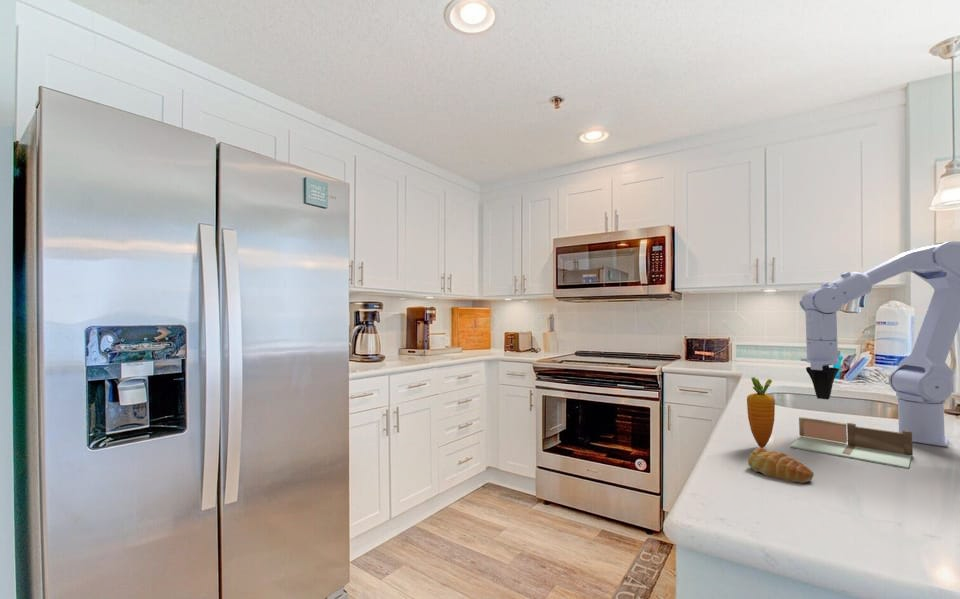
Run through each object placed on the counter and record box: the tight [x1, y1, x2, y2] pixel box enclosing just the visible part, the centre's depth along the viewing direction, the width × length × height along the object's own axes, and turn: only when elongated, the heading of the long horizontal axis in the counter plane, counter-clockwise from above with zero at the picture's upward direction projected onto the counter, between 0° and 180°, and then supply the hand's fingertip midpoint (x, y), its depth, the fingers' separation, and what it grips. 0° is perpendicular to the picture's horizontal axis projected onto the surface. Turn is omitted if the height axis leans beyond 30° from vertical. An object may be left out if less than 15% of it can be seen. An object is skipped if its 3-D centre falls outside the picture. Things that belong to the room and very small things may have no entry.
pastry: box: [747, 447, 815, 484], centre depth 77 cm, size 9×7×4 cm
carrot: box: [746, 376, 776, 449], centre depth 92 cm, size 5×5×15 cm
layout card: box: [789, 436, 913, 470], centre depth 91 cm, size 14×18×1 cm
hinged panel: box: [798, 416, 848, 443], centre depth 97 cm, size 1×8×4 cm, turn 44°
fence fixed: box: [846, 422, 914, 456], centre depth 90 cm, size 1×10×4 cm, turn 43°
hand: (823, 398), depth 101 cm, fingers closed
